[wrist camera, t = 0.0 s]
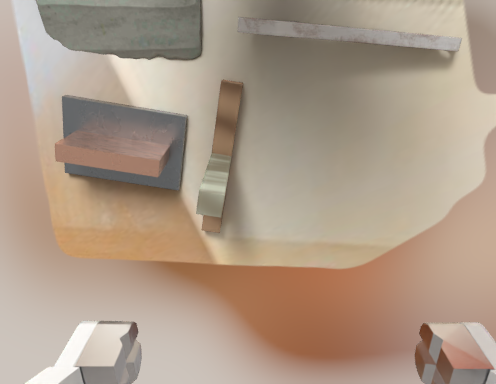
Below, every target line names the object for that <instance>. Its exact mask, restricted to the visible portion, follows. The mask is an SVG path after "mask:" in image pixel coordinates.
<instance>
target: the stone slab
mask: <svg viewBox="0 0 496 384" xmlns="http://www.w3.org/2000/svg"><path fill="white" fill-rule="evenodd" d="M36 2H37V5H38V9H39V12H40V15H41V18H42V21H43V24H44V27H45V30H46V32H47V33H48V34H49V35H50V36H51V37H52V38H53V39H54V40H58V41H59V42H60V43H61V44H62V45H63V46H64V47H67V48H68V49H70V50H75V51H85V52H92V53H98V54H115V55H117V56H118V57H120V58H134V59H140V58H147V59H152V58H154V57H156V56H163V57H165V58H168V59H194V58H196V57H198V56H200V54H201V28H200V0H36Z"/></svg>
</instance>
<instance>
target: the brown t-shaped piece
mask: <svg viewBox="0 0 496 384" xmlns="http://www.w3.org/2000/svg"><path fill="white" fill-rule="evenodd" d="M242 86H243V83H240V82H234V81H228V80H222V81H221V87H220V94H219V102H218V110H217V117H216V125H215V132H214V140H213V148H212V154H211V157H210V160H209V163H208V166H207V169H206V172H205V175H204V178H203V181H202V184H201V187H200V190H199V196H198V204H197V212H196V214H201V215H204V216H203V224H202V230H204V231H210V232H217V233H220V228H221V222H222V215H223V209H224V202H225V196H226V190H227V183H228V177H229V170H230V164H231V157H232V151H233V144H234V138H235V131H236V125H237V119H238V112H239V106H240V99H241V93H242Z"/></svg>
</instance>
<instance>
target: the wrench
mask: <svg viewBox="0 0 496 384" xmlns="http://www.w3.org/2000/svg"><path fill="white" fill-rule="evenodd" d="M238 32H243V33H252V34H262V35H273V36H286V37H300V38H313V39H325V40H336V41H347V42H358V43H370V44H381V45H392V46H403V47H414V48H426V49H437V50H448V51H458V50H459V47H460V43H461V40H462V38H456V37H445V36H434V35H424V34H413V33H403V32H392V31H381V30H371V29H360V28H349V27H339V26H328V25H318V24H307V23H299V22H295V21H290V22H286V21H276V20H265V19H255V18H244V17H239V18H238Z"/></svg>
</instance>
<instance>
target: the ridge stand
mask: <svg viewBox="0 0 496 384" xmlns="http://www.w3.org/2000/svg"><path fill="white" fill-rule="evenodd" d="M62 107H63V133H64V138H63V139H62V140H60V141H58V142H57V143H55V157H56V161H58V162H64V163H65V173H71V174H77V175H83V176H90V177H96V178H102V179H109V180H115V181H122V182H128V183H134V184H141V185H147V186H153V187H160V188H166V189H173V190H179V189H180V183H181V173H182V163H183V152H184V142H185V132H186V122H187V115H183V114H177V113H171V112H165V111H159V110H153V109H147V108H141V107H135V106H129V105H123V104H117V103H111V102H105V101H99V100H93V99H87V98H81V97H75V96H69V95H65V96H62Z"/></svg>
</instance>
